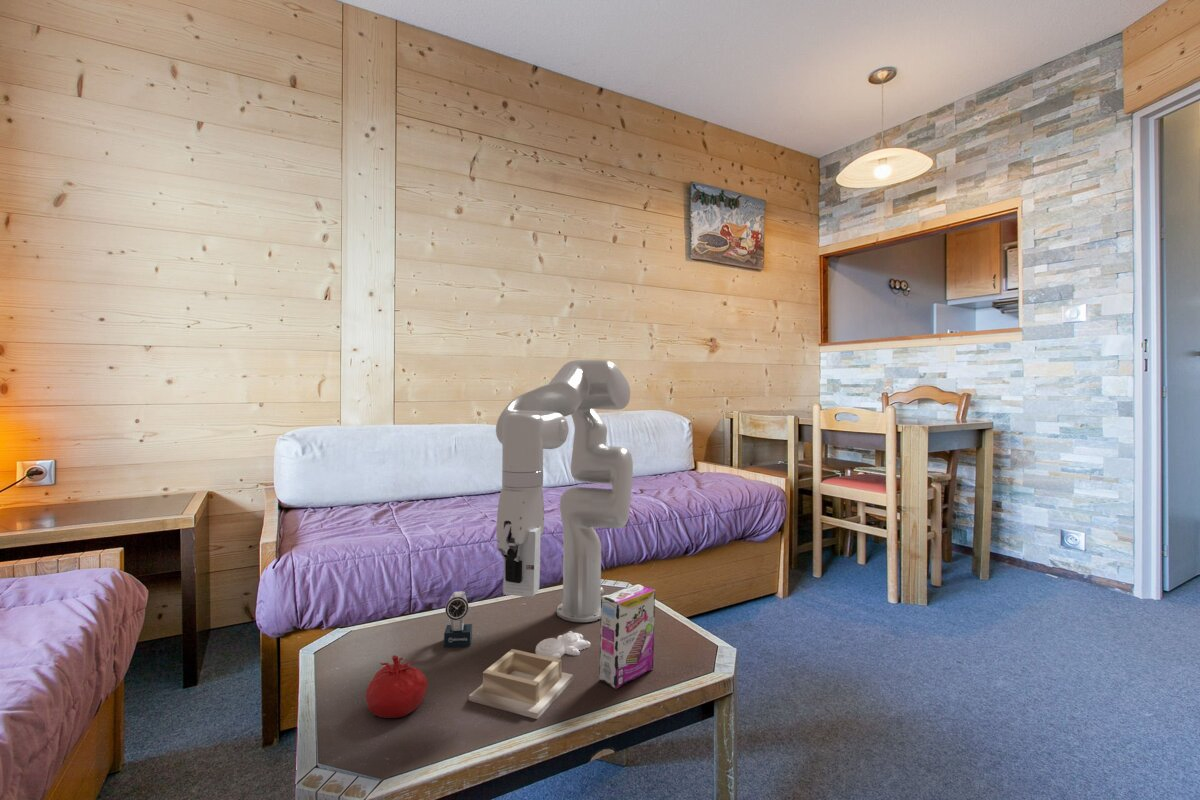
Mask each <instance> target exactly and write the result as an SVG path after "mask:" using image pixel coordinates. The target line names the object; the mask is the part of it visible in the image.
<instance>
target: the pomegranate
mask: <svg viewBox="0 0 1200 800" xmlns="http://www.w3.org/2000/svg"><path fill="white" fill-rule="evenodd" d="M403 659H404V658H403V657H399V656H398V655H396V654H395V655H392V656H391V661H393V663H388V662H379V664H380V665H381V666H383V667H382V668H380V669H379V670H378V671H377V672H376V673H375V674H374V675H373V677H372V679H371V680H370V681H369V683H368V685H367V687H366V690H365V692H366V693H365V698H366V704H367V708H368V710H369V711H370V713H371V714H372V715H375V716H377V717H379V718H384V719H385V718H387V719H388V718H389V719H390V718H395V719H397V718H402V717H405V716H407V715H409V714H411V713H413V712H414V711H415V710H416V709H417V708H418V707H419V706H420V705H421V704H422V702H423V700H424V698H425V696H426V693H427V690H428V682H429V681H428V679H427V677H426V675H425V674H424V673H422V670H420V669H419V668H418V667H416V666H413V665H410V663H412V662H419V659H418V660H409V661H407V662H405V663H401V661H402V660H403Z"/></svg>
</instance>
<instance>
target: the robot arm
mask: <svg viewBox="0 0 1200 800" xmlns="http://www.w3.org/2000/svg"><path fill="white" fill-rule="evenodd" d="M630 399H631V388H630V383H629V381H628V379H627V377H626V376H625V375H624V374H623V372H622V370H621V369H620V368H619V366H617V365H616V364H615V363H614V362H612V361H609V360H607V359H606V360H605V359H601V360H598V359H597V360H596V359H595V360H594V359H592V360H591V359H581V360H578V359H577V360H571V361H568V362H567V363H565V364H564V365H562V367H561V368H560V369H559V370H558V371H557V373H555V375H554V376H553V378H552V379H551V380H550V382H548V384H545V385H542V386H539V387H536V388H534V389H533V390H530V391H527V392H525V393H522V394H520V395H518V396H517V397H515V398H514V399H512V400H511V401H510V402H509V403H508V404H507V406H505V408H504V409H503V410H502V412H500V414H499V416H498V419H497V421H496V427H495V433H496V434H495V435H496V437H497V440H498V441H499V443H500V444H501V445H502V451H501V452H502V455H501V456H502V464H501V465H502V466H501V467H502V469H501V470H502V471H501V472H502V473H501V477H502V478H501V480H502V481H501V483H502V485H501V487H502V488H501V490H500V493H499V498H498V504H497V515H496V516H497V517H496V518H497V519H496V531H495V532H496V536H495V537H496V542H497V546H496V548H497V550H498V551H499V552H500V553H501V555H502V556H503V561H504V560H505V580H506V581H508V582H514V583H521V582H522V561H520V555H521V548H522V544H524V543H526V542H527V541H528V536H529V531H531V530H533V529H535V528H537V527H541V537H542V536H543V534H544V533H545V508H544V507H545V505H544V501H545V500H544V494H543V487H544V450H555V449H558V448H560V447H562V446H563V445H564V444H565V443H566V441H567V439H568V436H569V424H568V423H569V422H568V421H567V419H566V417H569V416H570V415H571V418H572V422H573V425H574V426H573V427H574V434H573V442H572V443H573V444H572V453H571V461H570V474H571V477H572V478H573V479H574V480H575V481H577V482H581V483H590V484H604V485H605V484H606V485H611V487H612V488H602V487H601V488H599V487H589V486H588V487H586V486H585V487H583V486H578V487H577V486H576V487H570V488H569V489H567V490H565V491H564V492H563V493H562V495H561V496H560V500H559V513H560V518H561V523H562V524H561V525H562V535H563V537H562V539H563V546H562V548H563V549H562V550H563V552H562V553H563V556H562V557H563V559H562V561H563V562H562V602H561V603H560V604H558V605H557V607H556V615H557V616H558V617H559V618H561V619H562V620H564V621H568V622H571V623H591V622H595V621H599V620H601V596H602V594H603V593H605V589H604V588H603V587H602V585H601V584H602V583H601V582H602V579H601V578H602V543H601V540H600V536H599V534H598V533H597V532H596V529H594V528H602V529H603V528H605V529H621V528H624V527H625V526H626V525H627V523H628V522H629V521H628V520H629V517H630V510H631V509H630V508H631V500H632V499H631V498H632V487H633V486H632V485H633V475H634V472H633V471H634V469H633V468H634V466H633V458H632V454H631V452H630V450H628V449H627V448H625V447H622V446H611V445H610V446H608V445H607V435H608V429H607V425H606V423H605V421H604V420H603V419H602V417H601V416H600V415H599V414H598V412H597V411H596V410H605V411H607V410H608V411H609V410H613V411H617V410H623V409H625V408H626V407H627V406H628V405H629V403H630ZM511 539H513V540H515V542H514V543H511ZM541 541H542V539H541V540H540V542H541ZM511 546H514V547H516V549H515V552H514V551H513V549H511ZM598 619H599V620H598Z"/></svg>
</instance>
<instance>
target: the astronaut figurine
mask: <svg viewBox="0 0 1200 800" xmlns="http://www.w3.org/2000/svg"><path fill="white" fill-rule="evenodd" d="M590 647H591V642H590V641H589V640H586V639H584V635H583V634H581V633H579V632H573V631H572V630H570V631H568V632H566V633H563V634H560V635H558V636H557V637H556V638H555V637H548V638H545V639H542V640H541V641H539V643H537V644H536V646H535V649H534V650H535V651H534V652H535V654H537V655H542V656H546V657H551V658H556V659H560V660H561V657H562V656H564V655H565V654H566V655H568V656H580V654H581V653H580V652H581V651H583V649H584V650H586V648H587V649H589V648H590ZM579 650H580V651H579Z"/></svg>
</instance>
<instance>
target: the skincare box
mask: <svg viewBox="0 0 1200 800" xmlns="http://www.w3.org/2000/svg"><path fill="white" fill-rule="evenodd" d="M540 540H541V541H542V536H541V527H537V528H535V529H533V530H531V531H529V536H528V541H527V542H526V543H524V544H522V548H521V555H520V561H522V582H521V583H514V582H508V581H506V580H505V560H504V559H503V577H502V578H503V579H502V580H503V583H502V584H503V586H502V587H503V588H502V595H503V596H504V595H505V596H506V595H507V596H516V597H517V596H518V597H527V598H532V597H534V596H536V594H537V593H538V592H539V590H540V578H541V577H540V576H541V575H540V573H541V572H540V570H541V567H540V566H541V541H540ZM514 542H515V540H513V539H511V543H514ZM511 549H513V551H514V552H515V549H516V547H514V546H511Z"/></svg>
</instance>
